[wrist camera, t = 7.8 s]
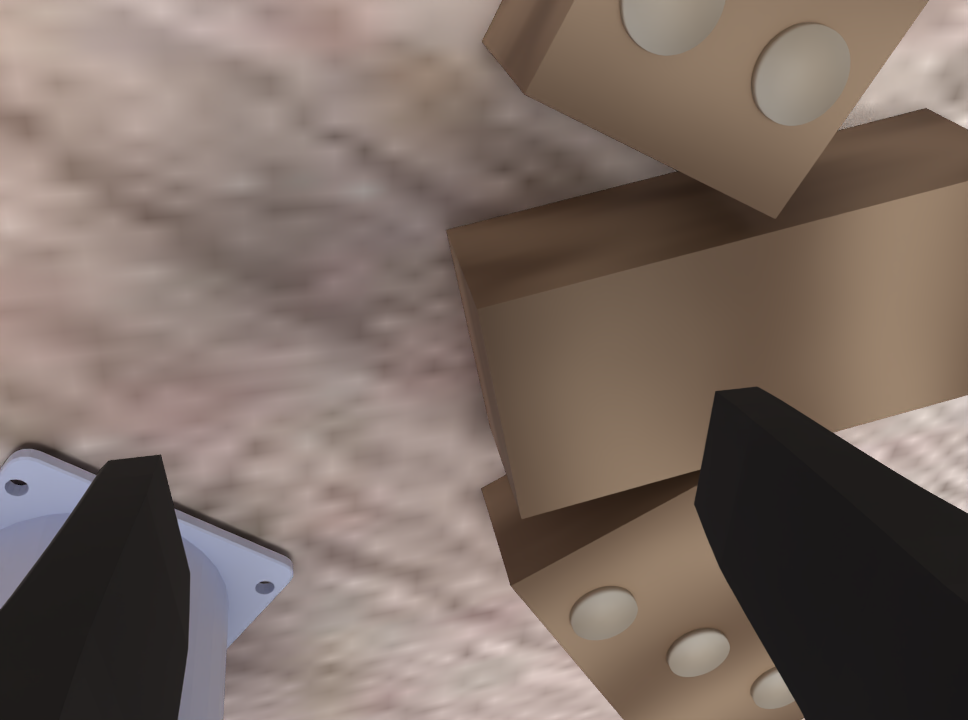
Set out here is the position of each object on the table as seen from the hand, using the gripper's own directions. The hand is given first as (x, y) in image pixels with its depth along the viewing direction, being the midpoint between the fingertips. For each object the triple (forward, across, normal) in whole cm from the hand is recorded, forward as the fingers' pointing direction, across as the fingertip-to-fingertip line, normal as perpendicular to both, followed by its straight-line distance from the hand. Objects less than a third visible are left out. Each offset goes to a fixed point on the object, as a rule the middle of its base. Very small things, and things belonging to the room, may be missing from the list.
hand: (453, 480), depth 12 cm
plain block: (+10, -8, +3) cm, 13 cm away
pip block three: (+10, -8, +13) cm, 18 cm away
